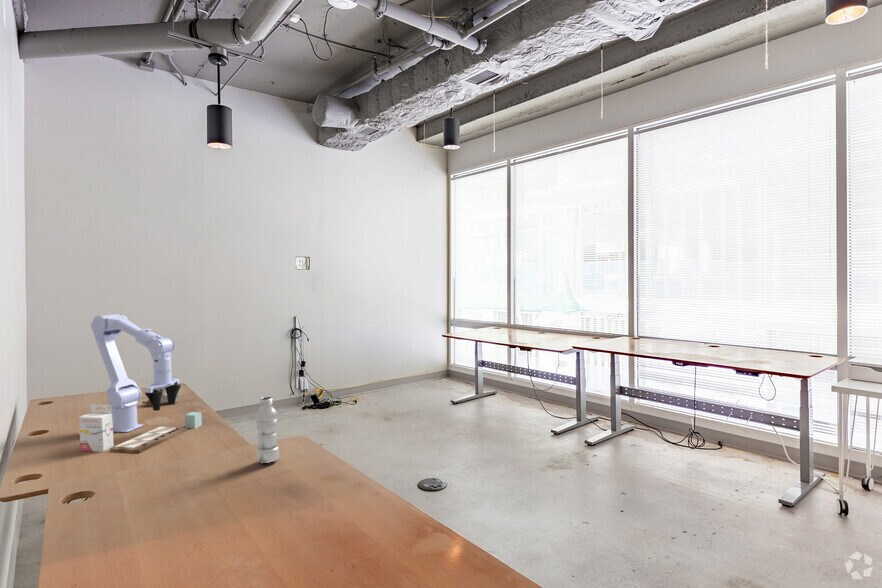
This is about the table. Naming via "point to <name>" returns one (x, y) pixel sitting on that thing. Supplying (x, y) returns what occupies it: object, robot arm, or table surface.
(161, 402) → the ceramic sculpture
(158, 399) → the robot arm
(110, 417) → the ink cartridge box
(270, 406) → the plastic bottle
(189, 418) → the sage block
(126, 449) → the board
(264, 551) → the table surface
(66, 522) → the table surface
